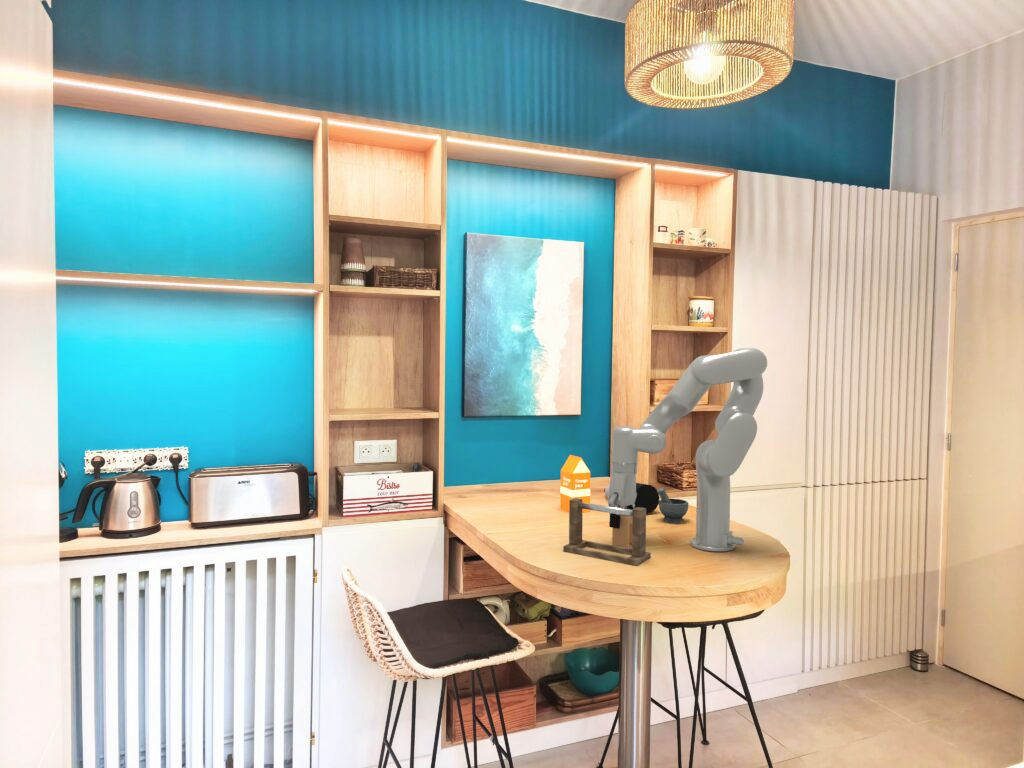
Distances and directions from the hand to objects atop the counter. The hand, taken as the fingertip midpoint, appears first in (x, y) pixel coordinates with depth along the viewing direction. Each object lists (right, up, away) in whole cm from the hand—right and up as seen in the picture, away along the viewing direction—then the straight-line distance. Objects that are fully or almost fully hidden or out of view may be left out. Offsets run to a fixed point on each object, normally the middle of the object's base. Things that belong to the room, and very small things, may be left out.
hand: (621, 524), depth 196 cm
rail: (-6, +6, -10) cm, 13 cm away
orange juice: (-10, -5, +44) cm, 46 cm away
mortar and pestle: (+22, -5, +28) cm, 36 cm away
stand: (-6, -6, -10) cm, 13 cm away
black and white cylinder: (+10, -4, +54) cm, 55 cm away
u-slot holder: (+1, -6, 0) cm, 6 cm away
